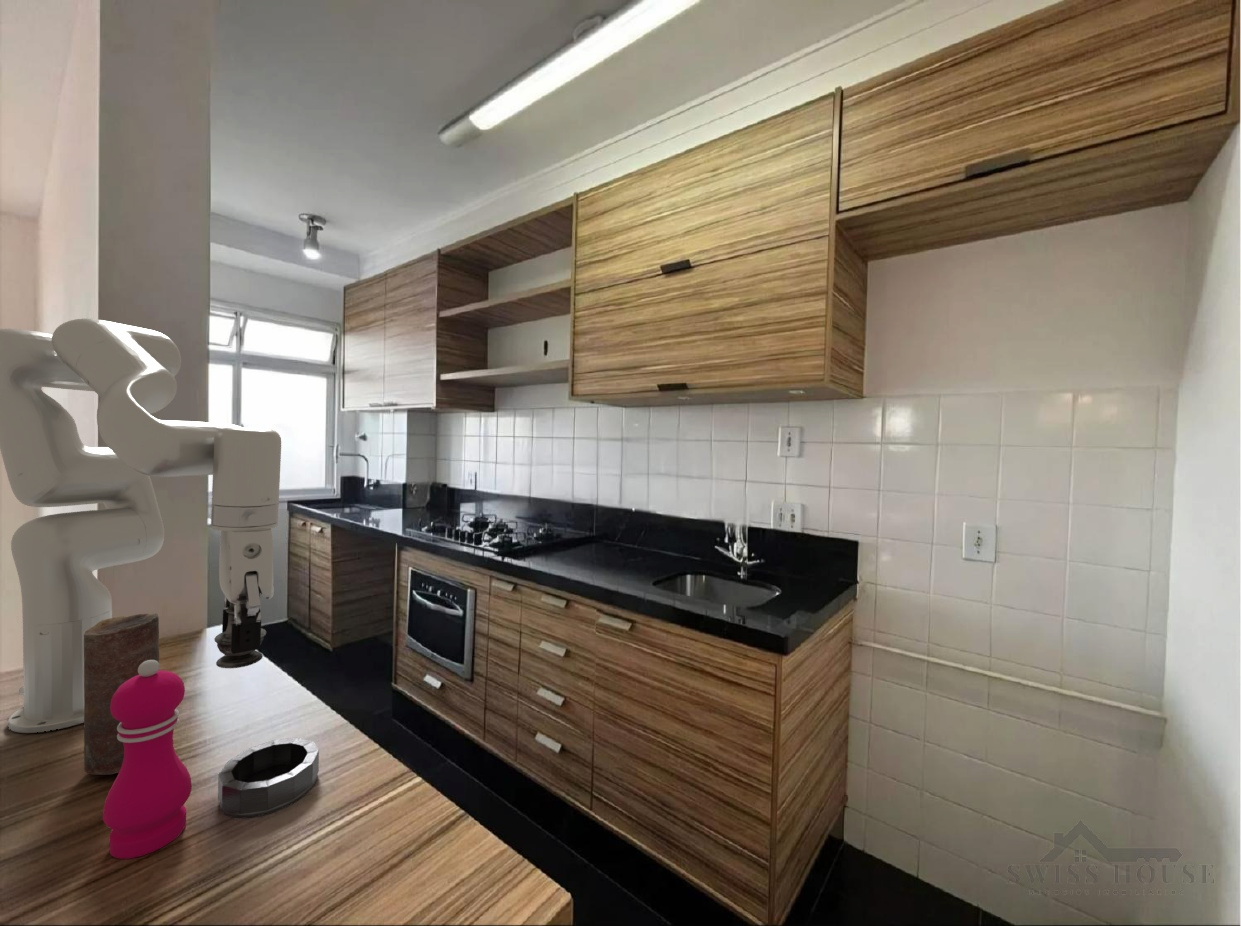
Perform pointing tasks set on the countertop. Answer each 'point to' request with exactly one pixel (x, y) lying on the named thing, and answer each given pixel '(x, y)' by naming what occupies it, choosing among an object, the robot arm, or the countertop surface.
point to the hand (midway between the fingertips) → (240, 641)
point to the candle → (112, 682)
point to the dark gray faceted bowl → (268, 777)
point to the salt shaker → (225, 645)
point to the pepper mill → (147, 765)
